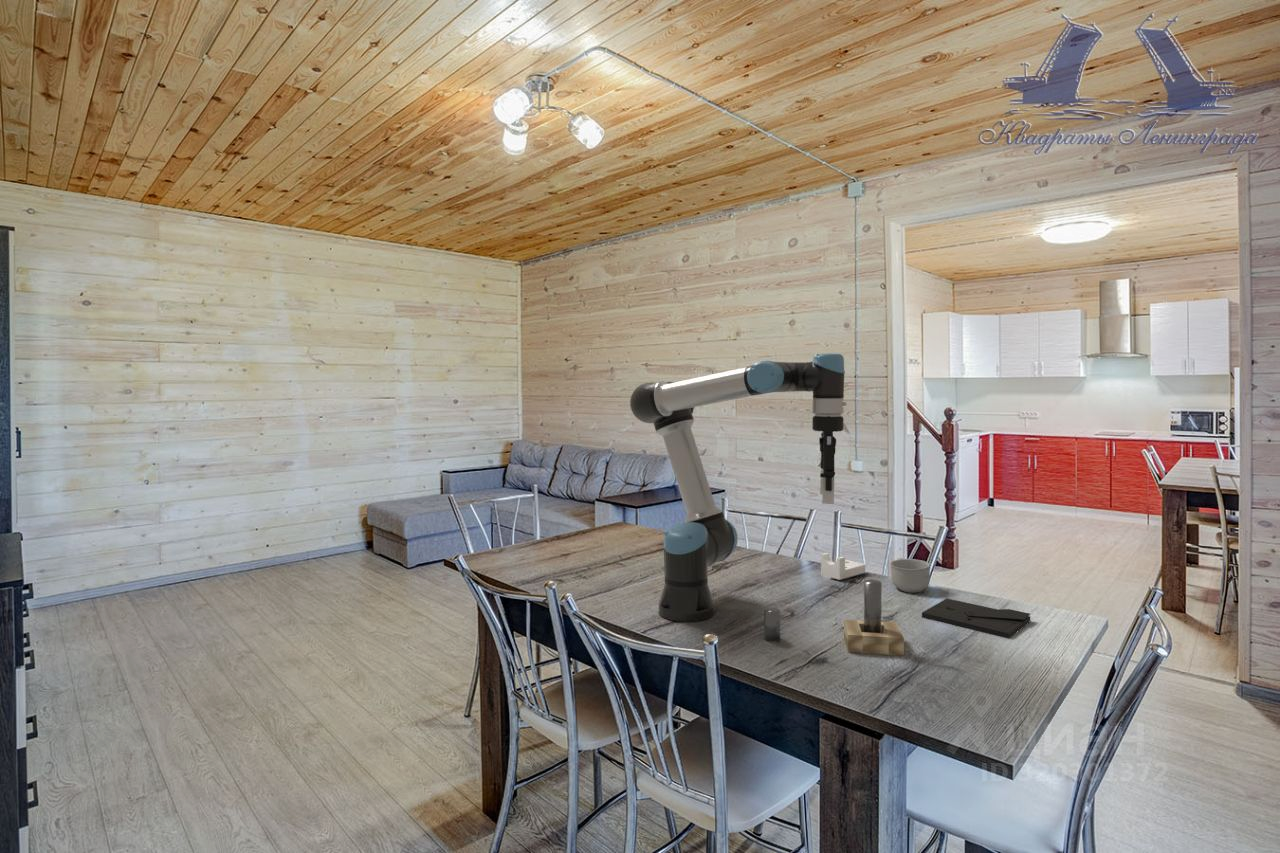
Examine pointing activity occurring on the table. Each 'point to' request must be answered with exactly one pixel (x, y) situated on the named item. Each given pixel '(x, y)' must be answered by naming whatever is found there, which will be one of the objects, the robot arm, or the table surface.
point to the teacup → (910, 574)
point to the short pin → (772, 624)
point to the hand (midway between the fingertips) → (826, 498)
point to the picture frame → (978, 617)
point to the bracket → (840, 567)
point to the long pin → (872, 606)
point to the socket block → (873, 638)
